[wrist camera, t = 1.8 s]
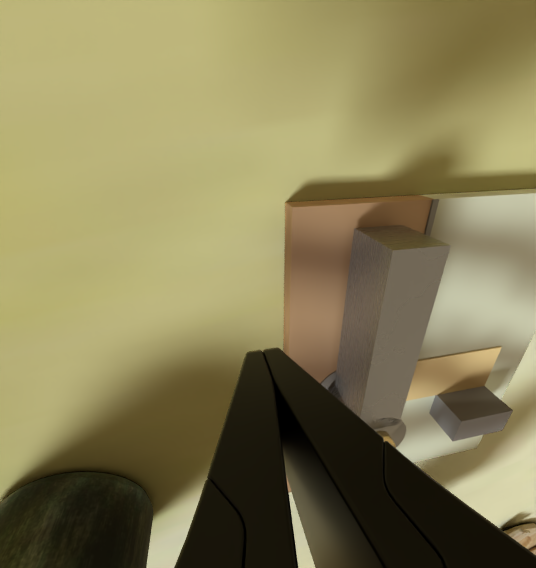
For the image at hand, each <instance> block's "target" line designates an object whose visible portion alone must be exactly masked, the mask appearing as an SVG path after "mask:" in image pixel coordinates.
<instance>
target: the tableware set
mask: <svg viewBox="0 0 536 568" xmlns="http://www.w3.org/2000/svg"><path fill="white" fill-rule="evenodd" d="M504 532H505V533H506V534H508V535H509V536H510V537H512V538H513V539H515V540H516V541H517V542H519V543H520V544H521V545H523V546H524V547H525V548H527V549H528V550H530V551H531V552H532V553H534V554H535V555H536V524H535V523H529V524H523V525H520V526H516V527H513V528H510V529H508V530H505V531H504Z"/></svg>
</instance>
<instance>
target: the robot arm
mask: <svg viewBox="0 0 536 568" xmlns="http://www.w3.org/2000/svg"><path fill="white" fill-rule="evenodd" d="M286 475H287V478H286ZM207 478H208V479H207V480H206V481H205V484H204V487H203V490H202V494H201V497H200V500H199V503H198V506H197V509H196V512H195V514H194V517H193V520H192V523H191V526H190V529H189V532H188V535H187V537H186V540H185V543H184V545H183V547H182V550H181V552H180V555H179V557H178V560H177V562H176V565H175V567H174V568H298V563H297V555H296V548H295V540H294V532H293V524H292V517H291V509H290V501H289V494H288V486H287V479H288V482H289V485H290V488H291V491H292V494H293V498H294V501H295V504H296V507H297V510H298V514H299V517H300V520H301V523H302V526H303V529H304V533H305V536H306V539H307V542H308V545H309V548H310V552H311V555H312V558H313V561H314V564H315V568H536V555H535V554H534V553H532V552H531V551H530V550H528V549H527V548H525V547H524V546H523V545H521V544H520V543H519V542H517V541H516V540H515V539H513V538H512V537H510V536H509V535H508V534H506V533H505V532H504V531H502V530H501V529H499V528H498V527H497V526H495V525H494V524H493V523H491V522H490V521H489V520H487V519H486V518H484V517H483V516H482V515H480V514H479V513H478V512H476V511H475V510H473V509H472V508H471V507H469V506H468V505H467V504H465V503H464V502H463V501H461V500H460V499H459V498H457V497H456V496H455V495H453V494H452V493H451V492H449V491H448V490H447V489H445V488H444V487H443V486H442V485H440V484H439V483H438V482H436V481H435V480H434V479H432V478H431V477H430V476H429V475H427V474H426V473H425V472H424V471H422V470H421V469H420V468H419V467H418V466H416V465H415V464H414V463H413V462H411V461H410V460H409V459H408V458H407V457H405V456H404V455H403V454H402V453H401V452H399V451H398V450H397V449H396V448H395V447H394V446H393V445H391V444H390V443H389V442H388V441H384V438H383V437H382V436H381V435H379V434H378V433H377V432H376V431H375V430H374V429H373V428H371V427H370V426H369V425H368V424H367V423H366V422H364V421H363V420H362V419H361V418H360V417H359V416H357V415H356V414H355V413H354V412H353V411H352V410H350V409H349V408H348V407H347V406H346V405H345V404H343V403H342V402H341V401H340V400H339V399H338V398H336V397H335V396H334V395H333V394H332V393H331V392H329V391H328V390H327V389H326V388H325V387H324V386H322V385H321V384H320V383H319V382H318V381H317V380H316V379H314V378H313V377H312V376H311V375H310V374H309V373H307V372H306V371H305V370H304V369H303V368H302V367H300V366H299V365H298V364H297V363H296V362H295V361H293V360H292V359H291V358H290V357H289V356H288V355H286V354H285V353H284V352H283V351H282V350H281V349H279V348H271V349H265V350H264V351H263V352H262V351H261V350H257V351H250V352H247V353H246V355H245V359H244V362H243V365H242V368H241V371H240V374H239V377H238V381H237V384H236V387H235V390H234V393H233V396H232V400H231V403H230V406H229V409H228V412H227V415H226V419H225V422H224V425H223V428H222V431H221V434H220V438H219V441H218V444H217V447H216V450H215V453H214V456H213V460H212V463H211V466H210V469H209V472H208V476H207Z"/></svg>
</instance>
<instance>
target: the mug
mask: <svg viewBox="0 0 536 568" xmlns="http://www.w3.org/2000/svg"><path fill="white" fill-rule="evenodd" d="M152 520H153V507H152V504H151V502H150V500H149V498H148V496H147V494H146V492H145V491H144V490H143V489H142V488H141V487H140V486H138V485H137V484H136V483H134V482H132V481H130V480H128V479H125V478H122V477H119V476H116V475H111V474H107V473H98V472H74V473H65V474H59V475H54V476H50V477H46V478H42V479H39V480H37V481H34V482H31V483H29V484H27V485H25V486H23V487H21V488H19V489H18V490H16V491H15V492H13V493H12V494H10V495H9V496H8V497H7V498H5V499H4V500H3V501H1V502H0V568H146V564H147V557H148V550H149V542H150V535H151V527H152Z"/></svg>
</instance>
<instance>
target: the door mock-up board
mask: <svg viewBox="0 0 536 568" xmlns="http://www.w3.org/2000/svg"><path fill="white" fill-rule="evenodd" d="M390 225H404V226H406V227H409V228H411V229H413V230H416V231H418V232H421V233H423V234H425V235H428V236H430V237H433V238H435V239H437V240H440V241H442V242H445V243H447V244H449V245H451V247H450V251H449V254H448V258H447V261H446V264H445V268H444V271H443V275H442V278H441V282H440V285H439V289H438V292H437V296H436V299H435V302H434V306H433V309H432V313H431V316H430V320H429V323H428V327H427V330H426V333H425V337H424V340H423V344H422V347H421V351H420V354H419V358H418V361H417V365H416V368H415V371H414V375H413V378H412V382H411V385H410V389H409V392H408V396H407V399H406V403H405V406H404V409H403V413H402V416H401V420H402V421H403V422H404V424H405V426H406V434H405V437H404V439H403V440H402V442H401V443H400V444H399V446H398V447H396V449H397V450H398V451H399V452H401V453H402V454H403V455H404V456H405V457H407V458H408V459H409V460H410V461H411V462H413V463H415V462H419V461H424V460H428V459H432V458H436V457H441V456H445V455H449V454H453V453H458V452H462V451H466V450H470V449H475V448H477V447H478V445H479V443H480V441H481V439H482V437H483V435H484V434H488V433H493V432H497V431H502V430H503V428H504V426H505V424H506V423H507V421H508V419H509V417H510V415H511V413H512V411H513V410H512V409H510V408H509V407H508V406H507V405H506V404H505V403H504V402H502V401H501V399H502V397H503V395H504V393H505V391H506V389H507V387H508V385H509V383H510V381H511V379H512V377H513V375H514V373H515V371H516V369H517V367H518V365H519V363H520V361H521V359H522V357H523V355H524V353H525V351H526V349H527V347H528V345H529V343H530V342H531V340H532V338H533V336H534V334H535V332H536V189H517V190H499V191H481V192H463V193H445V194H427V195H408V196H390V197H372V198H354V199H336V200H317V201H299V202H285V274H284V353H285V354H286V355H288V356H289V357H290V358H291V359H292V360H293V361H295V362H296V363H297V364H298V365H299V366H300V367H302V368H303V369H304V370H305V371H306V372H307V373H309V374H310V375H311V376H312V377H313V378H314V379H316V380H317V381H318V382H319V383H320V384H321V385H322V386H324V387H325V388H326V389H327V390H328V391H329V390H330V389H331V388H332V387H333V386H334V385H335V378H336V370H337V362H338V354H339V346H340V338H341V330H342V322H343V314H344V306H345V298H346V289H347V281H348V273H349V265H350V257H351V249H352V241H353V233H354V228H364V227H377V226H390ZM286 478H287V475H286ZM287 486H288V492H292V491H291V488H290V485H289V482H288V479H287Z"/></svg>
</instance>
